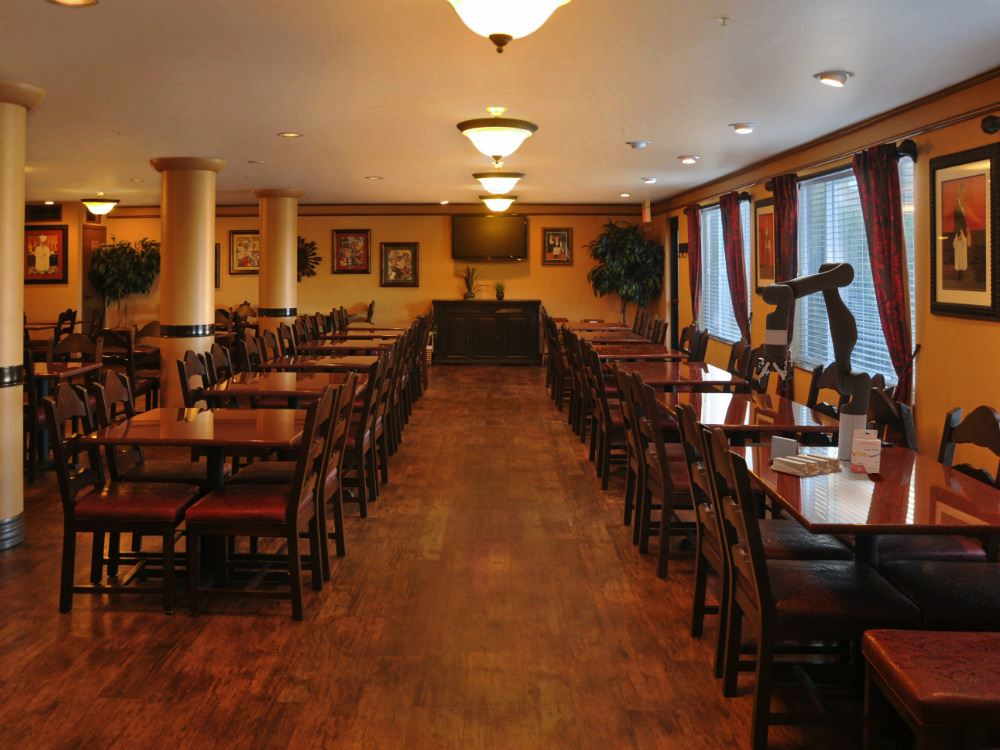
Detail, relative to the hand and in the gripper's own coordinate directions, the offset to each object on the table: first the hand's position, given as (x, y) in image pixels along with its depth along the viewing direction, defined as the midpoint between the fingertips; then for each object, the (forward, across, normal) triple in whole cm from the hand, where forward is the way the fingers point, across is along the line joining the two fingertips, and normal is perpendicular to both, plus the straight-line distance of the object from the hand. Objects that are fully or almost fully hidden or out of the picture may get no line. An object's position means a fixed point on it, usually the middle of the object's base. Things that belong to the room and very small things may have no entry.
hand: (773, 389), depth 320 cm
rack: (+28, -7, -11) cm, 31 cm away
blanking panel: (+29, +6, -15) cm, 33 cm away
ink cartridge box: (+29, -20, -26) cm, 44 cm away
